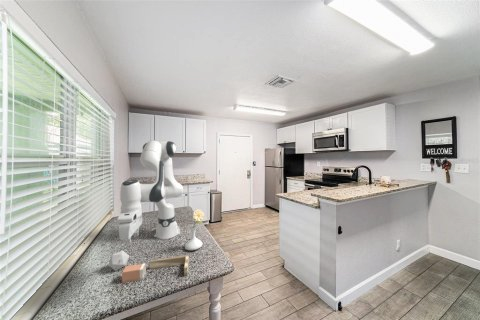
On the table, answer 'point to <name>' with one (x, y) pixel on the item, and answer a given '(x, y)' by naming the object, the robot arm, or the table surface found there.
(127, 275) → the block
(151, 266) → the wooden corner bracket
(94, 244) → the table surface
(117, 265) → the die
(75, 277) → the table surface
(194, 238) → the flower in vase
